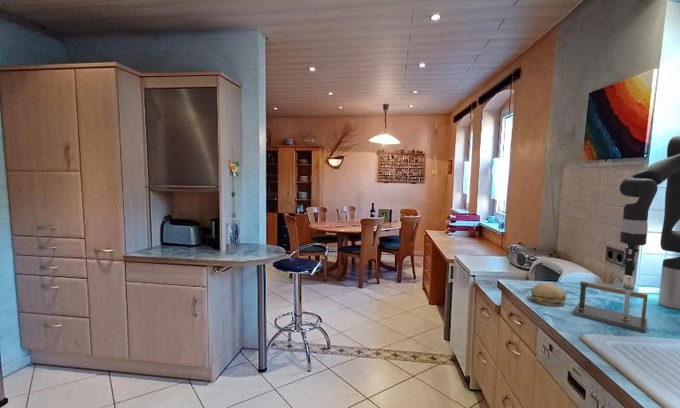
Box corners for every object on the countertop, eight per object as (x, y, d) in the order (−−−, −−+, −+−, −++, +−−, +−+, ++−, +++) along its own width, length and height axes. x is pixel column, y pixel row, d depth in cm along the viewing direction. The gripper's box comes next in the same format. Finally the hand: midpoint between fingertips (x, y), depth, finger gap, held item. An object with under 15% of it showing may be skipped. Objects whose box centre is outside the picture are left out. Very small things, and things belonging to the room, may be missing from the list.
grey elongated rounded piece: (621, 314, 134) (625, 273, 132) (631, 317, 132) (635, 275, 130) (619, 318, 130) (623, 275, 129) (630, 320, 128) (634, 277, 127)
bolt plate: (578, 306, 146) (580, 279, 145) (646, 322, 131) (650, 292, 130) (572, 314, 138) (575, 285, 136) (644, 333, 122) (648, 300, 121)
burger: (571, 308, 144) (573, 290, 144) (535, 305, 147) (536, 287, 146) (558, 297, 157) (560, 280, 156) (525, 294, 159) (526, 278, 159)
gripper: (623, 227, 135) (619, 267, 137) (618, 232, 125) (614, 274, 127) (648, 230, 130) (644, 271, 131) (645, 235, 120) (641, 279, 121)
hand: (629, 272), depth 129 cm, fingers open, 8 cm apart
